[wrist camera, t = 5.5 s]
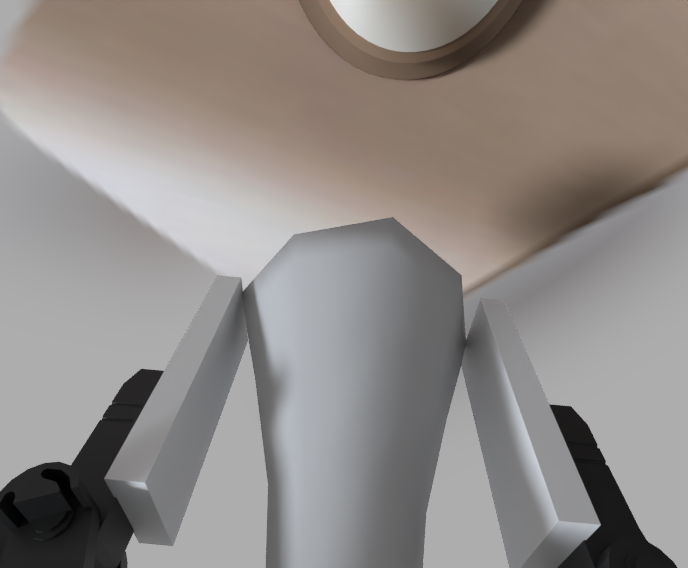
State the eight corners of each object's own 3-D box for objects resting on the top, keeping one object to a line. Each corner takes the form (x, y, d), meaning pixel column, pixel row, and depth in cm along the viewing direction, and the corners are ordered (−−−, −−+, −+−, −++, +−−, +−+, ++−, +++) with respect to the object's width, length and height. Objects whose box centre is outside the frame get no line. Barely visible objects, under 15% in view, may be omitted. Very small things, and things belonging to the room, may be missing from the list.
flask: (498, 345, 14) (674, 829, 6) (325, 404, 16) (279, 802, 8) (407, 169, 10) (527, 758, 2) (204, 278, 13) (-73, 749, 5)
